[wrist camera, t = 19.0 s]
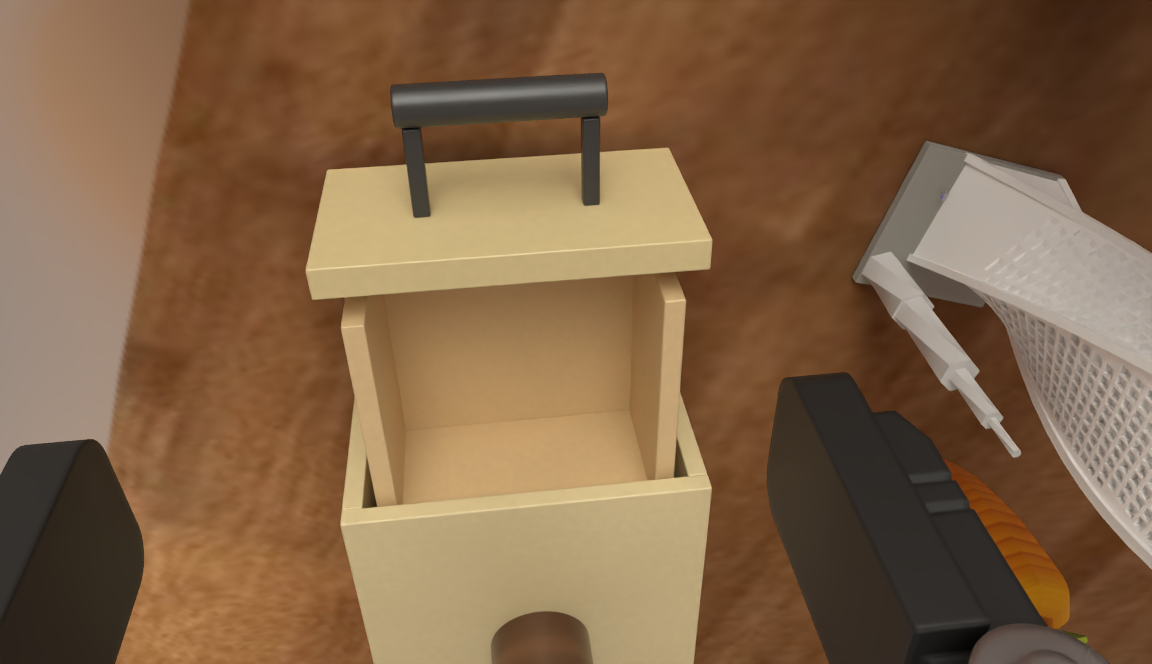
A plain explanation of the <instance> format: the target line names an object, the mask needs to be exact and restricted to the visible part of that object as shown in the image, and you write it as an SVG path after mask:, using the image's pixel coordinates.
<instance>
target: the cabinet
mask: <svg viewBox="0 0 1152 664" xmlns="http://www.w3.org/2000/svg"><path fill="white" fill-rule="evenodd" d="M711 493H712V487H711V483H710V480H709V477H708V475H707V472H706V469H705V466H704V463H703V460H702V457H701V454H700V451H699V448H698V445H697V442H696V439H695V436H694V433H693V430H692V427H691V424H690V420H689V417H688V414H687V411H686V408H685V405H684V402H683V399H682V396H681V393H680V396H679V411H678V425H677V439H676V453H675V468H674V478H668V479H658V480H648V481H638V482H627V483H617V484H607V485H597V486H587V487H576V488H566V489H556V490H546V491H536V492H525V493H515V494H505V495H495V496H485V497H474V498H464V499H454V500H444V501H434V502H423V503H413V504H403V505H393V506H383V507H377V504H376V499H375V494H374V489H373V484H372V479H371V474H370V469H369V464H368V460H367V455H366V450H365V445H364V440H363V435H362V430H361V425H360V420H359V415H358V410H357V405H356V401H355V398H354V407H353V415H352V424H351V433H350V442H349V451H348V460H347V469H346V478H345V487H344V496H343V505H342V514H341V523H340V526H341V530H342V534H343V538H344V542H345V547H346V551H347V555H348V559H349V563H350V567H351V571H352V576H353V580H354V584H355V588H356V592H357V596H358V600H359V605H360V609H361V613H362V617H363V621H364V625H365V629H366V633H367V638H368V642H369V646H370V650H371V654H372V658H373V662H374V664H492V659H491V642H492V639H493V637H494V635H495V633H496V632H497V631H498V630H499V628H501V627H502V626H503V625H504V624H506V623H507V622H508V621H510V620H512V619H514V618H516V617H519V616H522V615H525V614H529V613H533V612H542V611H552V612H560V613H565V614H568V615H570V616H573V617H575V618H576V619H578V620H579V621H581V622H582V623H583V624H584V625H585V627H586V629H587V630H588V633H589V639H590V646H591V652H592V658H593V664H693V663H694V654H695V644H696V635H697V625H698V616H699V606H700V597H701V587H702V578H703V568H704V559H705V549H706V540H707V531H708V521H709V512H710V502H711Z"/></svg>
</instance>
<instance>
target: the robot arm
mask: <svg viewBox="0 0 1152 664" xmlns="http://www.w3.org/2000/svg"><path fill="white" fill-rule="evenodd" d="M767 490H768V497H769V503H770V508H771V512H772V515H773V518H774V521H775V524H776V526H777V529H778V531H779V534H780V537H781V539H782V542H783V544H784V547H785V550H786V552H787V555H788V557H789V560H790V563H791V565H792V568H793V570H794V573H795V576H796V578H797V581H798V583H799V586H800V589H801V591H802V594H803V596H804V599H805V602H806V604H807V607H808V609H809V612H810V614H811V617H812V620H813V622H814V625H815V627H816V630H817V633H818V635H819V638H820V640H821V643H822V646H823V648H824V651H825V653H826V656H827V659H828V661H829V664H1110V663H1109V662H1108V661H1107V660H1106V659H1104V658H1103V657H1102V656H1101V655H1100V654H1099V653H1098V652H1096V651H1095V650H1094V649H1092V648H1091V647H1090V646H1088V645H1087V644H1085V643H1083V642H1082V641H1080V640H1078V639H1077V638H1075V637H1073V636H1071V635H1068V634H1066V633H1064V632H1062V631H1059V630H1056V629H1053V628H1050V627H1048V625H1047V624H1046V622H1045V621H1044V620H1043V618H1042V617H1041V616H1040V614H1039V612H1038V611H1037V609H1036V608H1035V606H1034V604H1033V603H1032V601H1031V600H1030V598H1029V596H1028V595H1027V593H1026V592H1025V590H1024V588H1023V587H1022V585H1021V584H1020V582H1019V580H1018V579H1017V577H1016V576H1015V574H1014V572H1013V571H1012V569H1011V568H1010V566H1009V564H1008V563H1007V561H1006V560H1005V558H1004V556H1003V555H1002V553H1001V551H1000V550H999V548H998V547H997V545H996V543H995V542H994V540H993V539H992V537H991V535H990V534H989V532H988V531H987V529H986V527H985V526H984V524H983V523H982V521H981V519H980V518H979V516H978V515H977V513H976V511H975V510H974V509H970V506H969V500H968V499H967V497H966V495H965V494H964V492H963V491H962V489H961V487H960V486H959V484H958V483H957V481H956V480H953V479H952V473H951V471H950V470H949V468H948V466H947V465H946V463H945V462H944V460H943V458H942V457H941V455H940V454H939V452H938V450H937V449H936V447H935V446H934V444H933V442H932V441H931V439H930V438H929V437H927V436H926V435H925V434H924V433H922V432H921V431H920V430H919V429H917V428H916V427H915V426H914V425H912V424H911V423H910V422H909V421H907V420H906V419H905V418H903V417H902V416H901V415H900V414H898V413H897V412H896V411H886V412H876V413H873V412H872V411H871V409H870V407H869V405H868V404H867V402H866V400H865V398H864V397H863V395H862V393H861V391H860V390H859V388H858V386H857V384H856V383H855V381H854V379H853V378H852V377H851V376H850V375H849V374H848V373H844V372H842V373H831V374H820V375H809V376H799V377H788V378H784V379H783V380H782V382H781V384H780V387H779V392H778V398H777V405H776V411H775V418H774V425H773V431H772V438H771V445H770V452H769V458H768V465H767ZM143 568H144V547H143V540H142V535H141V531H140V528H139V526H138V523H137V521H136V519H135V517H134V515H133V512H132V510H131V508H130V506H129V503H128V501H127V499H126V497H125V494H124V492H123V490H122V488H121V485H120V483H119V481H118V479H117V477H116V474H115V472H114V470H113V468H112V465H111V463H110V461H109V459H108V456H107V454H106V452H105V450H104V449H103V447H102V446H101V445H100V443H98V442H97V441H95V440H93V439H87V440H77V441H65V442H54V443H43V444H33V445H24V446H20V447H19V448H17V449H16V450H15V451H14V452H13V453H12V455H11V456H10V458H9V460H8V462H7V463H6V465H5V467H4V469H3V471H2V473H1V475H0V664H115V662H116V659H117V656H118V653H119V650H120V647H121V643H122V640H123V637H124V634H125V631H126V628H127V625H128V622H129V618H130V615H131V612H132V609H133V606H134V603H135V600H136V597H137V594H138V590H139V587H140V584H141V580H142V575H143Z"/></svg>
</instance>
